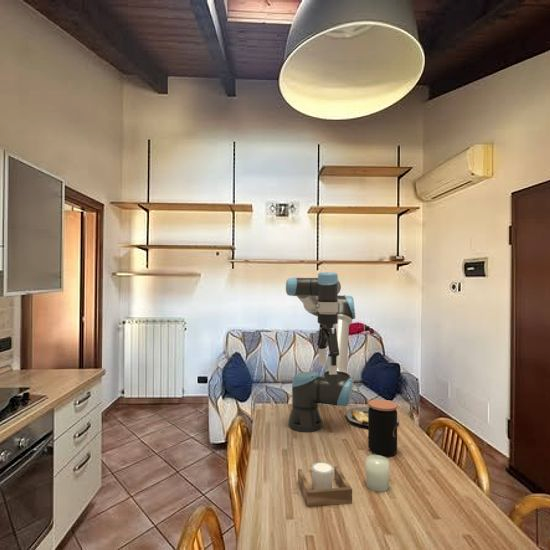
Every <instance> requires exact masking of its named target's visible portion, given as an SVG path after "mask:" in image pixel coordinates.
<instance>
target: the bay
mask: <svg viewBox="0 0 550 550" xmlns="http://www.w3.org/2000/svg"><path fill="white" fill-rule="evenodd" d="M333 467H334V471H333V478H334V479H333V480H334V481H335V483H336V485H337V487H332V488H331V489H319V490H314V489H311V488H310V486H309V483H308V481H307V478H306V476H305V474H304V471H303V469H302V468H298V469H297V483H298V485H299V488H300V490H301V493H302V495H303V498H304V502H305V503H306V506H307V508H310V507H321V506H333V505H335V506H336V505H345V504H352V503H353V488H352V486H351V485H350V483H349V482H348V481H347V479H346V477H345V476H344V474H343V472H342V470H341V469H340V468H339V466H338V465H337V466H333Z"/></svg>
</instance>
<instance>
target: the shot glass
mask: <svg viewBox="0 0 550 550" xmlns="http://www.w3.org/2000/svg"><path fill="white" fill-rule="evenodd" d="M334 467H335V466H333V465H332V464H331V463H329V462H322V461H320V462H315V463H313V464H312V465H311V474H312V486H313V490H319V489H331V488H333V481H334V479H333V478H334Z"/></svg>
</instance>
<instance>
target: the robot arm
mask: <svg viewBox="0 0 550 550" xmlns="http://www.w3.org/2000/svg"><path fill="white" fill-rule="evenodd" d="M338 275H339V274H338V273H337V272H333V271H332V272H327V271H326V272H325V271H324V272H318V274H317V277H289V278H287V279H286V282H285V293H286V294H287V296H289V297H297V299H299V301H301V303H302V304H303V308H304V310H305V311H306V312H307V313H309V314H311V315H313V316H315V317H317V324H319V331H318V336H317V338H318V339H317V344H316V345H317V347H318V366H319V367H321V366H327V369H326V370H325V371H323V372H324V373H323V376H319V374H318V372H316V371H304V372H299V373H296V374H294V375H293V377H292V385H291V390H292V391H291V392H292V393H291V399H292V400H291V402H292V404H291V405H292V407H291V410H290V413H289V416H288V420H287V424H288V427H289V428H290V429H291V430H294V431H296V432H303V433H308V432H310V433H311V432H317V431H318V430H321V428H322V427H323V420H322V417H321V414H320V411H319V405H326V406H327V405H328V406H337V407H348V405H349V404H350V403H351V401H352V395H353V388H354V380H353V379H352V378H351V375H350V373H349V372H348V356H349V355H348V353H349V351H348V350H349V329H350V325H351V324H352V323H353V320H354V319H355V320H356V311H355V309H356V308H355V302H354V297H353V296H352V295H345V294H344V295H339V293H340V292H341V289H342V285H341V282H340V280H339V278H338ZM327 348H328V358H327ZM327 359H328V361H327Z"/></svg>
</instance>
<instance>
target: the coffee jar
mask: <svg viewBox="0 0 550 550" xmlns="http://www.w3.org/2000/svg"><path fill="white" fill-rule="evenodd" d="M367 405H368V407H369V409H368V413H367V417H368V426H367V427H368V428H367V429H368V431H367V432H368V433H367V435H368V437H367V441H368V449H369V451H370V452H371V453H372V454H373V455H380V456H383V457H385V458H388V457H393V456H395V455H396V453H397V452H398V424H397V418H398V404H397V403H396V402H394V401H392V400H387V399H372V400H369V401H368V404H367Z"/></svg>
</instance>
